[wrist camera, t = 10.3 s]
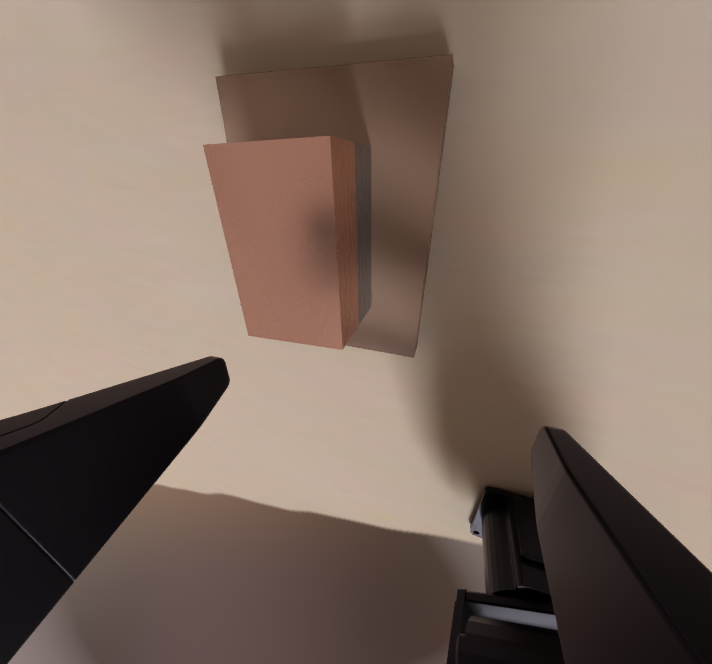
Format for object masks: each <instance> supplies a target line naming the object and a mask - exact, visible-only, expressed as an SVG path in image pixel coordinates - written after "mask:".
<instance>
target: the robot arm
mask: <svg viewBox="0 0 712 664" xmlns="http://www.w3.org/2000/svg"><path fill="white" fill-rule="evenodd" d="M229 382H230V378H229V374H228V371H227V367H226V363H225V361H224V360H223V359H222V358H219V357H214V356H210V357H206V358H203V359H200V360H196V361H193V362H190V363H187V364H183V365H180V366H177V367H174V368H170V369H167V370H164V371H161V372H157V373H154V374H151V375H148V376H144V377H141V378H138V379H135V380H131V381H128V382H125V383H122V384H118V385H115V386H112V387H109V388H106V389H102V390H99V391H96V392H93V393H89V394H86V395H83V396H80V397H76V398H73V399H70V400H68V401H63V402H60V403H57V404H53V405H50V406H47V407H44V408H40V409H37V410H34V411H30V412H27V413H23V414H20V415H17V416H13V417H9V418H6V419H2V420H0V664H8V663H9V661H10V660H11V659H12V658H13V656H14V655H15V654H16V653H17V651H18V650H19V649H20V648H21V647H22V645H23V644H24V643H25V642H26V640H27V639H28V638H29V637H30V636H31V634H32V633H33V632H34V631H35V629H36V628H37V627H38V626H39V625H40V623H41V622H42V621H43V620H44V618H45V617H46V616H47V615H48V613H49V612H50V611H51V610H52V609H53V607H54V606H55V605H56V604H57V602H58V601H59V600H60V599H61V598H62V596H63V595H64V594H65V593H66V591H67V590H68V589H69V588H70V587H71V585H72V584H73V583H74V580H76V579H77V577H78V576H79V575H80V574H81V572H82V571H83V570H84V569H85V568H86V567H87V565H88V564H89V563H90V562H91V560H92V559H93V558H94V557H95V555H96V554H97V553H98V552H99V551H100V549H101V548H102V547H103V546H104V544H105V543H106V542H107V541H108V540H109V538H110V537H111V536H112V535H113V533H114V532H115V531H116V530H117V529H118V527H119V526H120V525H121V524H122V522H123V521H124V520H125V519H126V518H127V516H128V515H129V514H130V513H131V511H132V510H133V509H134V508H135V507H136V505H137V504H138V503H139V502H140V500H141V499H142V498H143V497H144V495H145V494H146V493H147V492H148V490H149V489H150V488H151V487H152V486H153V484H154V483H155V482H156V481H157V480H158V478H159V477H160V476H161V475H162V473H163V472H164V471H165V470H166V469H167V467H168V466H169V465H170V464H171V462H172V461H173V460H174V459H175V458H176V456H177V455H178V454H179V453H180V451H181V450H182V449H183V448H184V447H185V445H186V444H187V443H188V442H189V440H190V439H191V438H192V437H193V435H194V434H195V433H196V432H197V430H198V429H199V428H200V427H201V425H202V424H203V422H204V421H205V420H206V418H207V417H208V415H209V414H210V412H211V411H212V409H213V408H214V406H215V405H216V403H217V402H218V401H219V399H220V398H221V396H222V395H223V393H224V392H225V390H226V389H227V387H228V385H229ZM531 466H532V478H533V489H534V499H532V498H528V497H525V496H521V495H518V494H514V493H510V492H507V491H503V490H499V489H496V488H492V487H487V488H485V489H484V491H483V494H482V496H481V499H480V502H479V504H478V507H477V510H476V512H475V515H474V518H473V520H472V523H471V526H470V532H471V533H472V534H473V535H475V536H478V537H481V538H483V556H484V573H485V590H486V593H480V592H472V591H467V590H466V589H462V588H458V593H457V600H456V601H455V607H454V614H453V621H452V628H451V635H450V643H449V650H448V657H447V664H712V572H711V571H710V570H709V569H708V568H707V567H706V566H705V565H703V564H702V563H701V562H700V561H699V560H698V559H697V558H696V557H695V556H694V555H693V554H692V553H691V552H690V551H689V550H688V549H687V548H686V547H685V546H684V545H683V544H682V543H681V542H680V541H679V540H678V539H677V538H676V537H675V536H674V535H672V534H671V533H670V532H669V531H668V530H667V529H666V528H665V527H664V526H663V525H662V524H661V523H660V522H659V521H658V520H657V519H656V518H655V517H654V516H653V515H652V514H651V513H650V512H649V511H648V510H647V509H646V508H645V507H644V506H642V505H641V504H640V503H639V502H638V501H637V500H636V499H635V498H634V497H633V496H632V495H631V494H630V493H629V492H628V491H627V490H626V489H625V488H624V487H623V486H622V485H621V484H620V483H619V482H618V481H617V480H616V479H615V478H614V477H612V476H611V475H610V474H609V473H608V472H607V471H606V470H605V469H604V468H603V467H602V466H601V465H600V464H599V463H598V462H597V461H596V460H595V459H594V458H593V457H592V456H591V455H590V454H589V453H588V452H587V451H586V450H585V449H584V448H583V447H581V446H580V445H579V444H578V443H577V442H576V441H575V440H574V439H573V438H572V437H571V436H570V435H569V434H568V433H567V432H566V431H564V430H562V429H559V428H554V427H549V426H543V427H542V428H541V429H540V431H539V434H538V436H537V439H536V441H535V443H534V446H533V448H532V452H531Z"/></svg>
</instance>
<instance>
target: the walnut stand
mask: <svg viewBox="0 0 712 664" xmlns="http://www.w3.org/2000/svg"><path fill="white" fill-rule="evenodd" d="M453 68H454V64H453V54H452V55H441V56H430V57H420V58H409V59H398V60H388V61H377V62H367V63H356V64H345V65H335V66H324V67H313V68H303V69H292V70H281V71H271V72H260V73H250V74H239V75H228V76H218V77H216V82H217V88H218V93H219V99H220V105H221V110H222V116H223V121H224V127H225V133H226V138H227V143H236V142H250V141H264V140H278V139H291V138H305V137H319V136H333V137H337V138H341V139H344V140H348V141H352V142H356V143H359V144H363V145H367V146H371V290H372V306H371V308H370V309H369V311H368V312H367V314H366V315H365V317H364V318H363V320H362V321H361V323H360V324H359V326H358V327H357V329H356V330H355V332H354V333H353V335H352V336H351V338H350V339H349V341H348V342H347V344H346V346H352V347H357V348H363V349H369V350H374V351H380V352H386V353H391V354H397V355H402V356H408V357H414V355H415V351H416V348H417V342H418V334H419V327H420V319H421V311H422V304H423V296H424V289H425V281H426V273H427V266H428V258H429V251H430V243H431V235H432V228H433V220H434V212H435V205H436V197H437V190H438V182H439V174H440V167H441V159H442V152H443V144H444V136H445V129H446V121H447V113H448V106H449V98H450V91H451V83H452V75H453Z"/></svg>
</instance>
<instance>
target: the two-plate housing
mask: <svg viewBox="0 0 712 664" xmlns="http://www.w3.org/2000/svg"><path fill="white" fill-rule="evenodd" d="M203 147H204V151H205V155H206V160H207V164H208V168H209V172H210V176H211V180H212V185H213V189H214V193H215V197H216V201H217V206H218V210H219V214H220V218H221V222H222V227H223V231H224V235H225V239H226V243H227V247H228V252H229V256H230V260H231V264H232V268H233V273H234V277H235V281H236V285H237V289H238V294H239V298H240V302H241V306H242V310H243V314H244V319H245V323H246V327H247V331H248V335H249V336H255V337H261V338H268V339H274V340H281V341H288V342H294V343H301V344H308V345H314V346H321V347H327V348H334V349H341V350H343V348H344V347H345V345H346V344H347V342H348V341H349V339H350V338H351V336H352V335H353V333H354V332H355V330H356V329H357V327H358V326H359V324H360V323H361V321H362V320H363V318H364V317H365V315H366V314H367V312H368V311H369V309H370V308H371V306H372V290H371V146H367V145H363V144H359V143H356V142H352V141H348V140H344V139H341V138H337V137H333V136H319V137H305V138H291V139H278V140H264V141H250V142H236V143H222V144H208V145H203Z"/></svg>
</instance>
